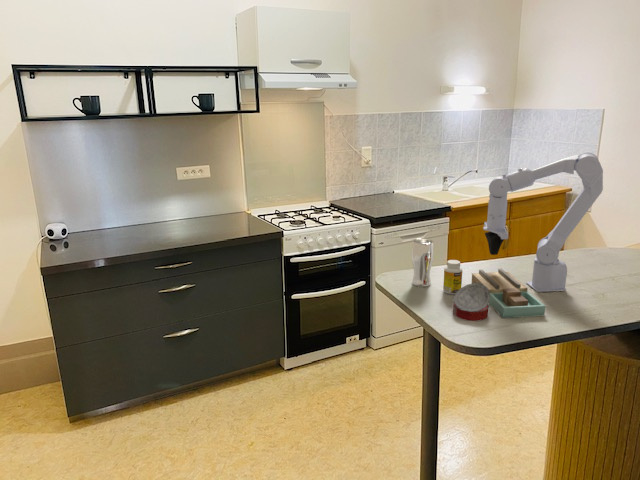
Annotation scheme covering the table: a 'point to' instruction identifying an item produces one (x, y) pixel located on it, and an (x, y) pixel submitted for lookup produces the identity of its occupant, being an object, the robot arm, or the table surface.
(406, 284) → the table surface
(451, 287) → the supplement bottle
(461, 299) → the canned food
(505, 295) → the brown block
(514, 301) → the block
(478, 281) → the slot deck
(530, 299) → the tray
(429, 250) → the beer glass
